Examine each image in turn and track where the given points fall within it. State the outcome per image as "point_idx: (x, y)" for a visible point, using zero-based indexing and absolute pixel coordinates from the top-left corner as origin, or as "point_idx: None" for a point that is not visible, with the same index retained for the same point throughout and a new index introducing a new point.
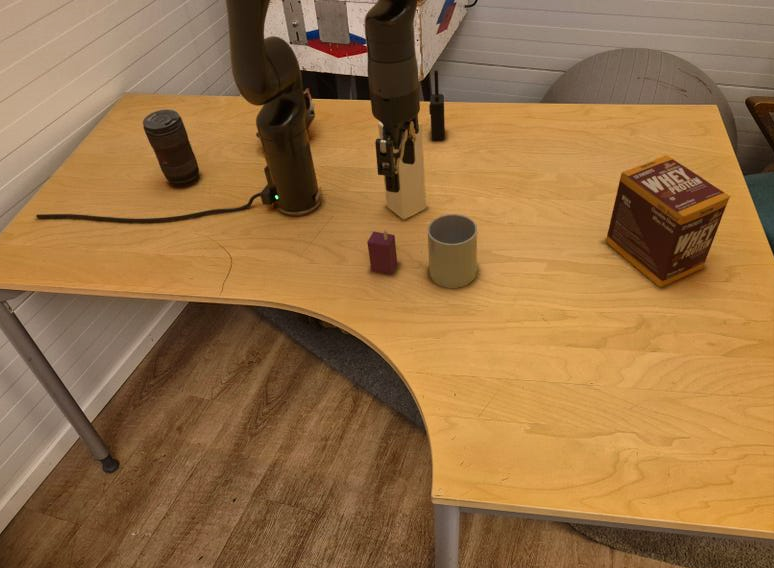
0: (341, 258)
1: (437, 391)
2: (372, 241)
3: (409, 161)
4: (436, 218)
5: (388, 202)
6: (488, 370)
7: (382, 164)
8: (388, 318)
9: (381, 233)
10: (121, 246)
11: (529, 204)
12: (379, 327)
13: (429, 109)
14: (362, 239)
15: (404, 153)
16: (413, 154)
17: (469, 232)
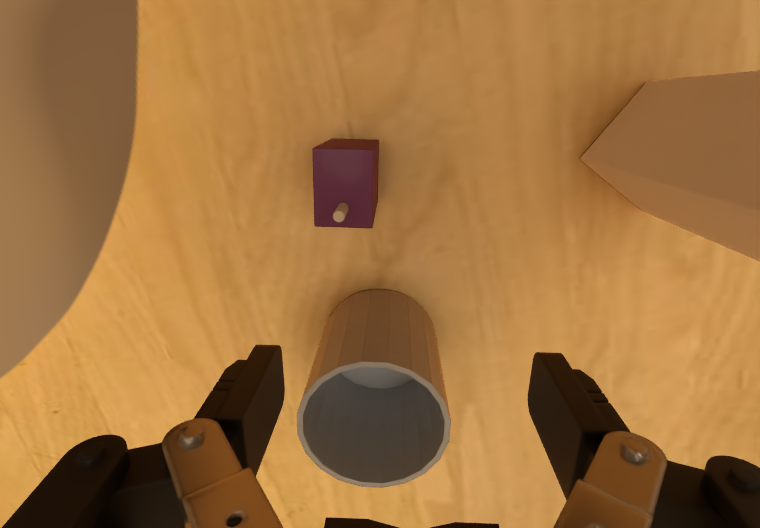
0: (363, 20)
1: (46, 384)
2: (319, 166)
3: (535, 393)
4: (416, 375)
5: (650, 91)
6: None
7: (99, 508)
8: (183, 239)
9: (369, 182)
10: None
11: (665, 451)
12: (147, 228)
13: None
14: (467, 56)
15: (552, 402)
16: (546, 449)
17: (426, 428)
